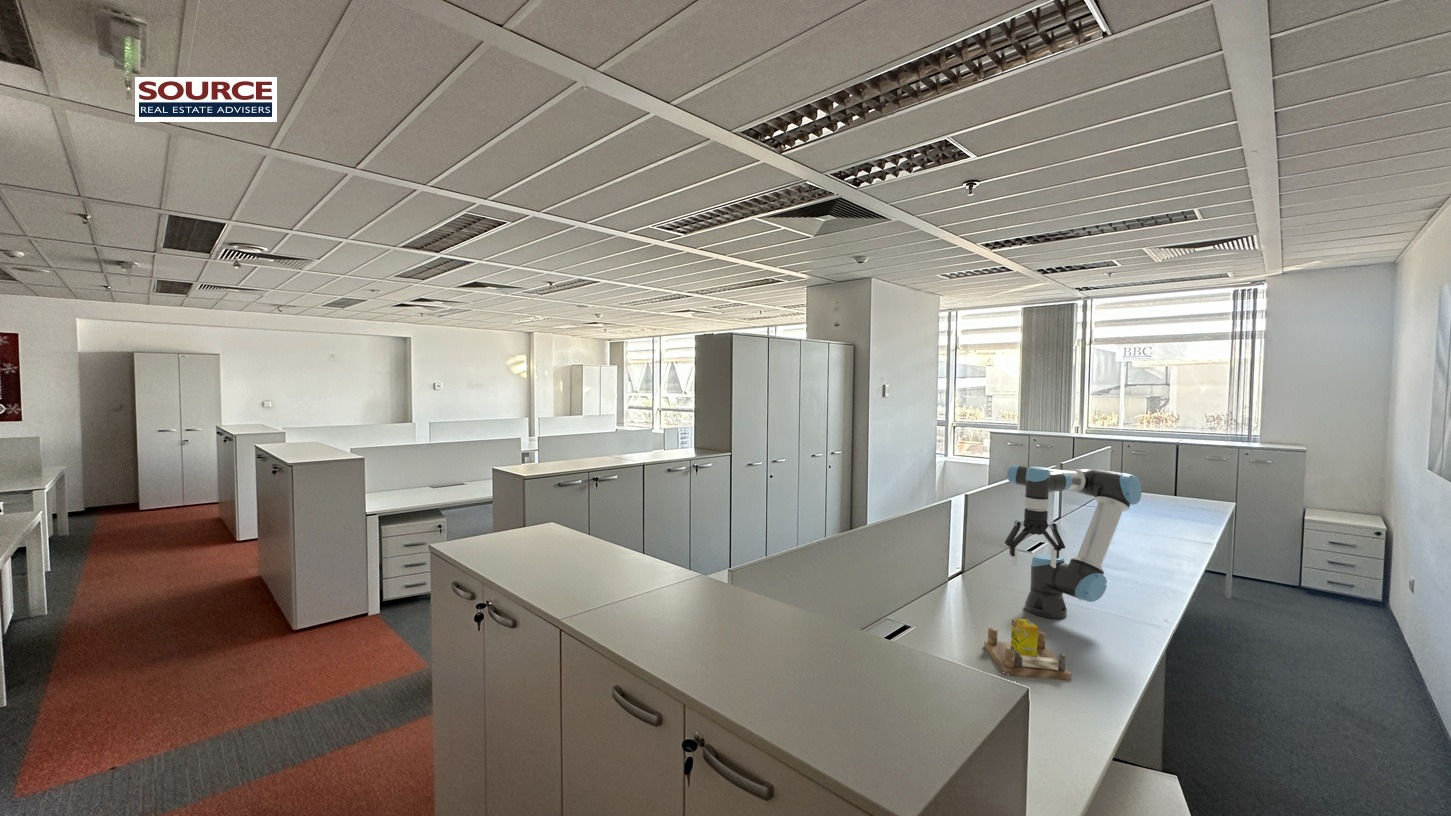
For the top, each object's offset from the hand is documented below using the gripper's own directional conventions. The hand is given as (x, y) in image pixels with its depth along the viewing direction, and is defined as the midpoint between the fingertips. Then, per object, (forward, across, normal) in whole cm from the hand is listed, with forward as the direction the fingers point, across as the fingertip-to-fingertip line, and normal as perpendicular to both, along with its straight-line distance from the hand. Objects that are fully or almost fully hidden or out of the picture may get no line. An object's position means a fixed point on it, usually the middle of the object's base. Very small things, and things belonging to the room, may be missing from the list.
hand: (1033, 565), depth 209 cm
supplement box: (+25, +10, +20) cm, 33 cm away
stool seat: (+27, +10, +21) cm, 35 cm away
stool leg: (+24, +10, +28) cm, 39 cm away
